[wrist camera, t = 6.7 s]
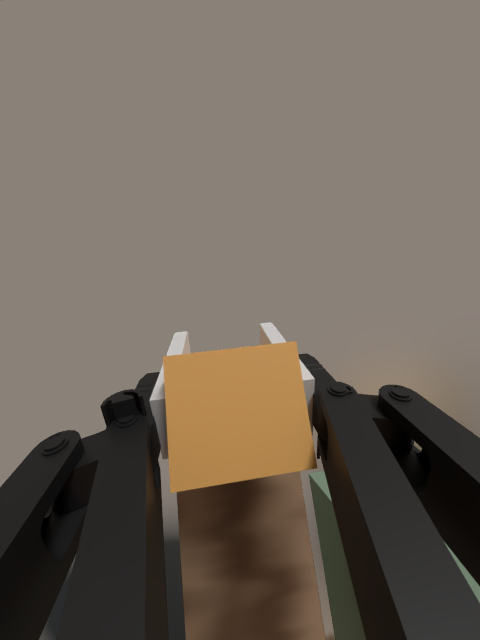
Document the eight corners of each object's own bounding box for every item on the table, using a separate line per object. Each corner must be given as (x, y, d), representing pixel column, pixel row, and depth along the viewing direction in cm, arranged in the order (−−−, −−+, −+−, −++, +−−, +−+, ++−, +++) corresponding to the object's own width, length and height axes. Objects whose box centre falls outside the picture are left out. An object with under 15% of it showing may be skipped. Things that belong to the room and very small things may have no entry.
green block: (499, 1103, 11) (391, 574, 14) (343, 688, 24) (308, 473, 28) (665, 1025, 11) (520, 545, 15) (423, 666, 25) (379, 461, 29)
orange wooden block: (317, 467, 7) (296, 340, 8) (170, 493, 7) (162, 356, 8) (246, 394, 29) (242, 361, 30) (209, 399, 28) (206, 365, 29)
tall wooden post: (220, 1192, 10) (172, 427, 16) (221, 827, 18) (189, 407, 23) (398, 1111, 11) (290, 410, 16) (323, 796, 18) (268, 396, 24)
